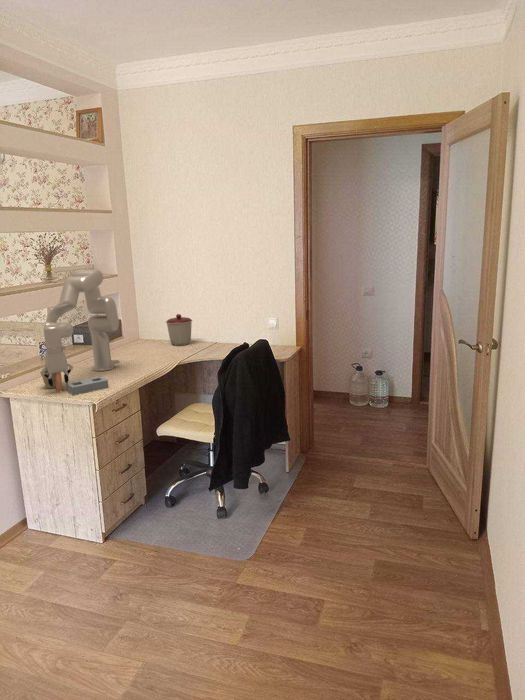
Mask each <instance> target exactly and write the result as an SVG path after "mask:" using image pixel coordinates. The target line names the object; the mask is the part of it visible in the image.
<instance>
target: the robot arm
mask: <svg viewBox="0 0 525 700" xmlns="http://www.w3.org/2000/svg"><path fill="white" fill-rule="evenodd" d="M103 281H104V273H103V272H102V271H101V270H99V269H97V268H96V269H76V270H73V271H72V272H71V275H70V276H68V277H66V278H65V280H64V281H63V285H62V289H61V293H60V298H59V301H58V303H57V304H55V306H54V307H53V308H52V309H51V310H50V311H49V312H48V314H47V315H46V318H45V323H44V328H43V336H44V343H45V350H46V353H45V354H44V368H42V369H41V371H40V372H39V374H40V373H41V374H42V375H44V376H45V377H47V378H48V383H49V385H50V386H51V387H52V386H53V382H52V379H51V376H52V374H53V373H58V372H61V373H62V372H63V373H64V375H63V378H64V383H65V384H66V383H69V374H70V373H71V372H72V370H73V369H74V365H71V364H70V363H68V362H67V356H66V354H65V351H64V350H66V346H63V343H62V342H63V341H62V339H63V338H64V339H66V338H69V337H71V336H72V335H73V334H74V326H73V325H72V324H71V323H69V322H57V321H58V320H59V318H60V317H61V316H63V315H64V314H66V313H69V312H70V311H72V310H75V309H76V307H77V304H78V300H79V295H80V293H83V294H84V298H85V301H86V302H85V303H86V307H87V310H88V312H89V313H90V314H94V315H92V316H90V317H89V318H88V320H87V327H88V329H89V333H90V338H91V346H92V347H91V348H92V353H93V355H92V356H93V362H94V366H92V368H91V370H92V371H93V372H105V371H110V370H113V369H114V368H115V364H119V363H120V362H121V361H120V360H119V359H112V356H111V355H112V354H111V345H110V338H109V336H108V334H107V333H113V332H117V331H118V330H119V327H120V320H119V314H118V310H117V309H118V308H117V304H116V301H115V300H114V298H112V297H110V296H102V293H101V290H100V289H101V288H100V287H99V286H100V285H101V284H102V283H103ZM101 314H102V315H101ZM45 371H46V372H48V375H47V374H45ZM41 374H40V375H41ZM42 375H41V376H42Z"/></svg>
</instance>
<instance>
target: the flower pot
mask: <svg viewBox="0 0 525 700" xmlns="http://www.w3.org/2000/svg"><path fill="white" fill-rule="evenodd" d="M39 374H40V375H41V377H42V380H43V384H44V386H45V387H44V388H46V389H54V387H55V388H56V382H55V374H54V373H53V374H52V376H51V379H52V382H53V386H52V387H51V386H50V385H49V383H48V378H47V377H45V376H44V375H42V374H41V373H40V372H39ZM45 374H47V375H48V372H46V371H45Z"/></svg>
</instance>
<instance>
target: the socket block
mask: <svg viewBox="0 0 525 700" xmlns="http://www.w3.org/2000/svg"><path fill="white" fill-rule="evenodd" d="M108 381H109V380H108V379H106V378H104V377H103V376H101V375H100V376H94V377H90V378H85V379H80V380H76V381H71V382H68V383H65V385H66V391H67V392H68V391H69V392H68V393H70V394H71V393H72V394H73V395H72V394H71V395H72V396H76V395H75V394H77V395H80V394H79V393H81V394H85V393H84V392H86V393H89V391H90V392H94V391H93V390H95V391H99V390H98V389H100V390H102V389H103V388H104V389H108V388H109V382H108ZM104 389H103V390H104Z"/></svg>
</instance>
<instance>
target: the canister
mask: <svg viewBox="0 0 525 700" xmlns="http://www.w3.org/2000/svg"><path fill="white" fill-rule="evenodd" d="M192 322H193V319H191V318H190V317H187V316H186V317H185V316H184V317H182V314H180V313H177V314H176V317H172V318H169V319H168V320H165V324H166V327H167V332H168V336H169V340H170V344H171V345H172V346H177V347H181V346H187V345H189V344H190V343H191V340H192Z"/></svg>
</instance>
